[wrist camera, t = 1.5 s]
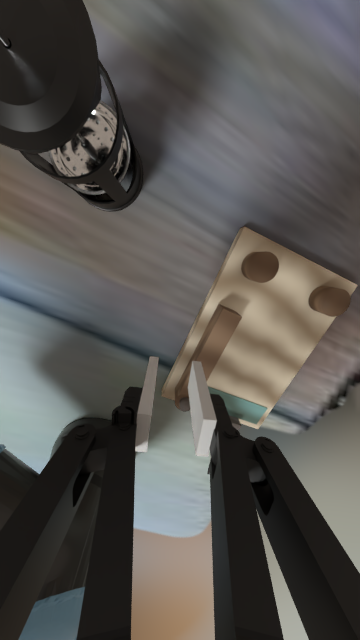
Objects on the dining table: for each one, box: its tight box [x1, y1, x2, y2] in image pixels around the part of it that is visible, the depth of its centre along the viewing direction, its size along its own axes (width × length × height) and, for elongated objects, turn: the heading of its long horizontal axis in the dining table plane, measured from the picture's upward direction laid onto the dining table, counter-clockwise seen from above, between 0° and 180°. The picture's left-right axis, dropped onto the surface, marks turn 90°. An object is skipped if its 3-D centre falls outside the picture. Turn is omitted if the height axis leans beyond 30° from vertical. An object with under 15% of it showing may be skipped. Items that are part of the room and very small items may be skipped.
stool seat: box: [161, 227, 358, 430], centre depth 33 cm, size 30×20×5 cm, turn 156°
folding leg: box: [175, 304, 242, 411], centre depth 31 cm, size 18×3×4 cm, turn 156°
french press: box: [0, 0, 143, 211], centre depth 16 cm, size 12×9×23 cm
